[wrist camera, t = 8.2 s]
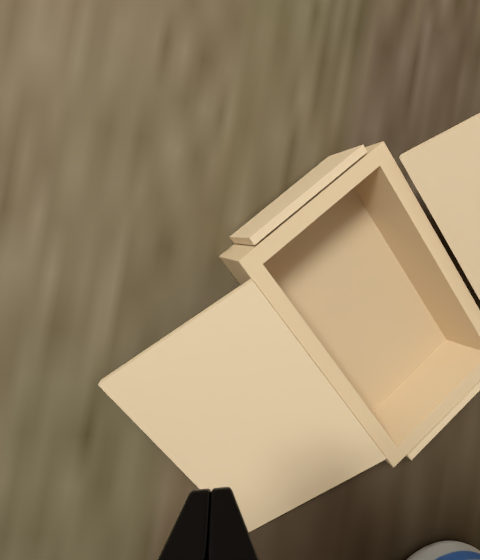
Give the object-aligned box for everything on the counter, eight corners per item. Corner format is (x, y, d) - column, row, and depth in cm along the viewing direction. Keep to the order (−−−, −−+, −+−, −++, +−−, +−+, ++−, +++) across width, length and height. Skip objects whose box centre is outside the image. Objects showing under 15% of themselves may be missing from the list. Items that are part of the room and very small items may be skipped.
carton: (256, 543, 24) (282, 599, 20) (77, 358, 20) (69, 387, 16) (458, 344, 26) (512, 362, 23) (338, 146, 22) (381, 130, 19)
